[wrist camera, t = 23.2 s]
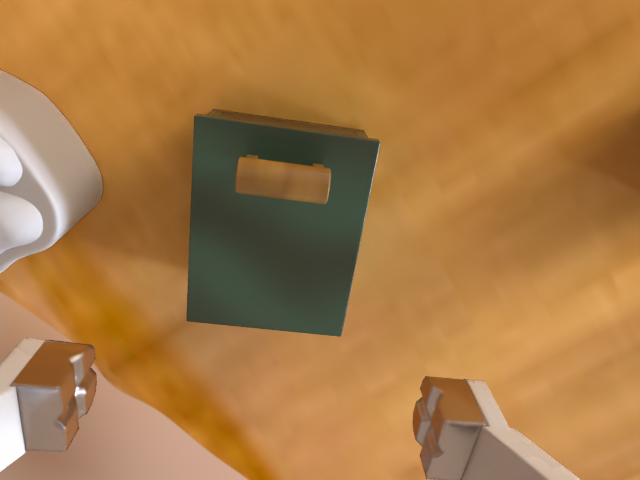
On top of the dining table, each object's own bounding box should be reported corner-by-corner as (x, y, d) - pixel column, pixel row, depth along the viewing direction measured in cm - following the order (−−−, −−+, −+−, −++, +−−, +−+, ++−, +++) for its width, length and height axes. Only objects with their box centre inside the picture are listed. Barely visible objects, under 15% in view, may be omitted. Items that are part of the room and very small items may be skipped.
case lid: (196, 113, 28) (177, 130, 24) (379, 139, 29) (393, 160, 25) (188, 315, 34) (171, 360, 30) (340, 331, 35) (346, 376, 31)
